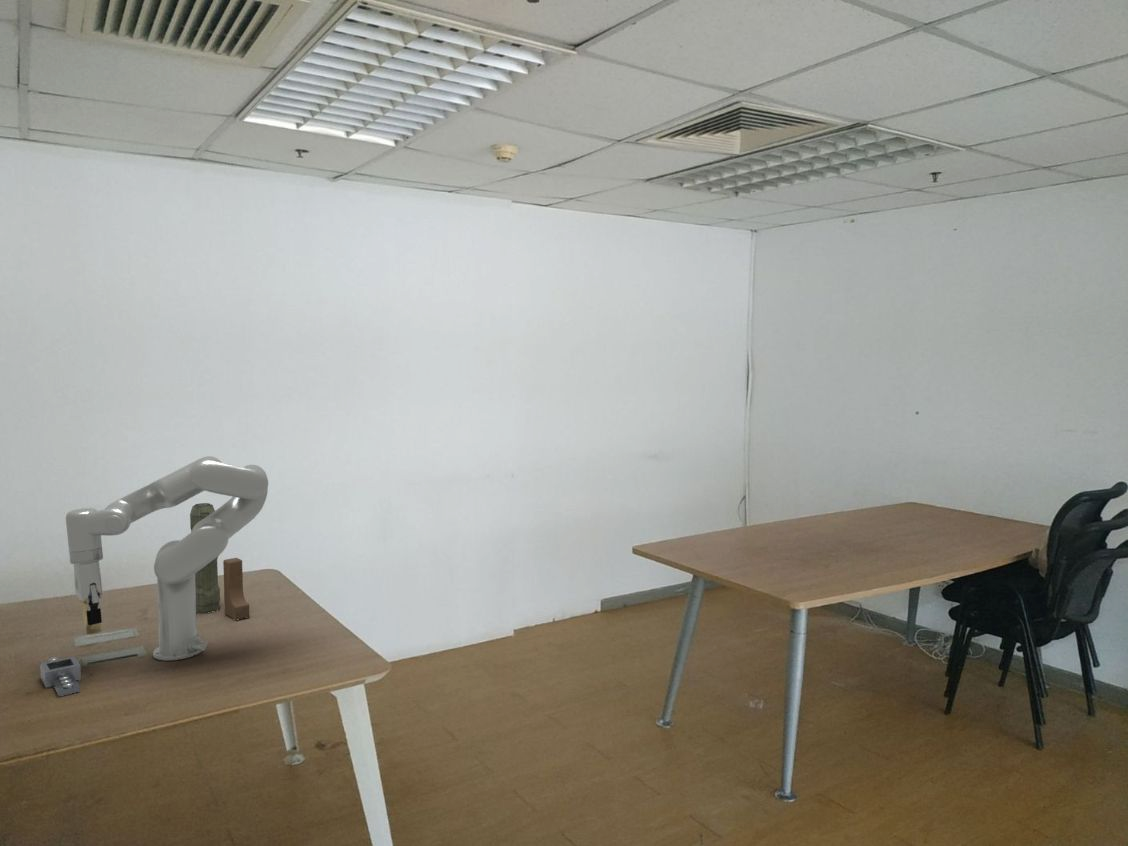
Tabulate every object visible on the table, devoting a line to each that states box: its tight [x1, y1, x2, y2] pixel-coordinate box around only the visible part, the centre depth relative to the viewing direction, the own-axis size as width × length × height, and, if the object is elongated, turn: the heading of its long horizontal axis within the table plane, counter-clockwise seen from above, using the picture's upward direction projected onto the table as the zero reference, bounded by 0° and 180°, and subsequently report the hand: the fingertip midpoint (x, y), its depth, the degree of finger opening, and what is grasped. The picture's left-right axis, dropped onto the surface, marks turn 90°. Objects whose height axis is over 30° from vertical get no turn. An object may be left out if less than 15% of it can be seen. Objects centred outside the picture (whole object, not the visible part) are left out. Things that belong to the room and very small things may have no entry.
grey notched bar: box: [39, 656, 82, 698], centre depth 198 cm, size 24×8×4 cm, turn 42°
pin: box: [78, 596, 103, 635], centre depth 207 cm, size 5×5×10 cm
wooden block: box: [222, 557, 250, 621], centre depth 247 cm, size 9×4×18 cm, turn 45°
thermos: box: [189, 502, 221, 614], centre depth 252 cm, size 9×12×35 cm
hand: (92, 621), depth 207 cm, fingers closed on pin, 4 cm apart
